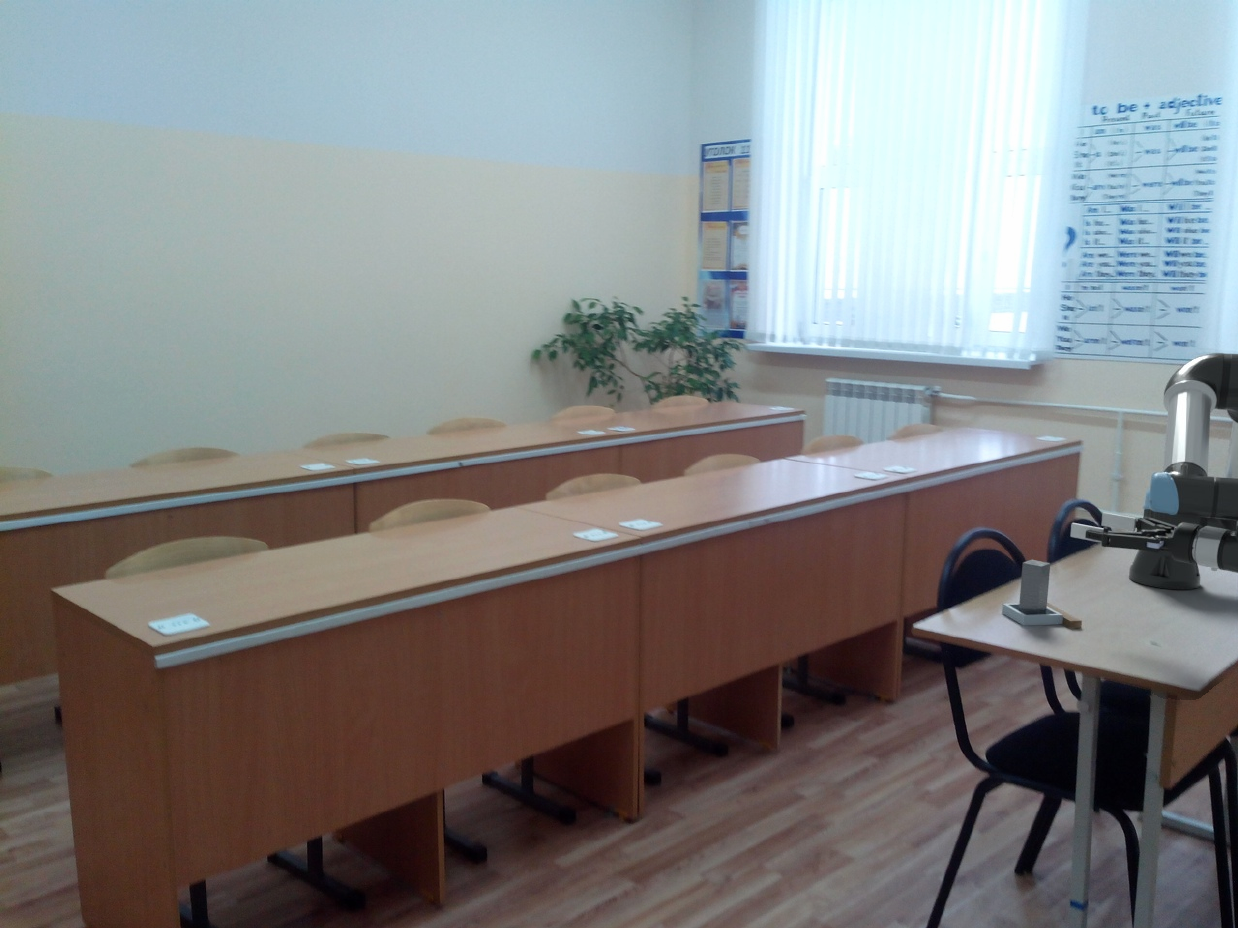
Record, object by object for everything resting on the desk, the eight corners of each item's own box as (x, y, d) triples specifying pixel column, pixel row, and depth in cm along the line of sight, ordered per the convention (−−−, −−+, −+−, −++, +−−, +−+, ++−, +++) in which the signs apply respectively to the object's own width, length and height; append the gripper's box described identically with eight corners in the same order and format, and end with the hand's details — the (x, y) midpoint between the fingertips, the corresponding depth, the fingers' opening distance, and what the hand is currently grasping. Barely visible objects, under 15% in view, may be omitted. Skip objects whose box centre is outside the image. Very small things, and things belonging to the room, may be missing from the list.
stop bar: (1027, 614, 223) (1031, 559, 221) (1045, 618, 220) (1050, 563, 218) (1018, 618, 220) (1022, 562, 218) (1036, 622, 217) (1041, 566, 215)
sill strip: (1043, 607, 228) (1043, 600, 228) (1081, 627, 215) (1081, 620, 214) (1032, 607, 228) (1033, 601, 227) (1070, 628, 214) (1070, 621, 214)
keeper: (1039, 611, 225) (1039, 602, 225) (1062, 623, 217) (1063, 614, 216) (1002, 612, 224) (1002, 603, 223) (1023, 625, 215) (1024, 616, 215)
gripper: (1170, 577, 189) (1056, 553, 205) (1222, 552, 205) (1113, 531, 221) (1175, 537, 188) (1059, 515, 203) (1227, 515, 204) (1116, 497, 220)
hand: (1087, 524), depth 212 cm, fingers open, 13 cm apart
